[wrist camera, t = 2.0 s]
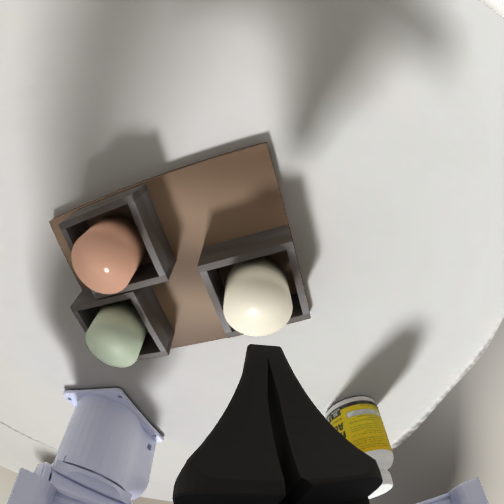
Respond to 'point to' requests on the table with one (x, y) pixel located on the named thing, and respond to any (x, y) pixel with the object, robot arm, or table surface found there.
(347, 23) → the table surface
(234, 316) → the cream button
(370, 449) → the supplement bottle
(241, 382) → the robot arm
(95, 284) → the terracotta button
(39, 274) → the table surface
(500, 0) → the flower in vase
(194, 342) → the button panel
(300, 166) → the table surface
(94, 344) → the sage button
